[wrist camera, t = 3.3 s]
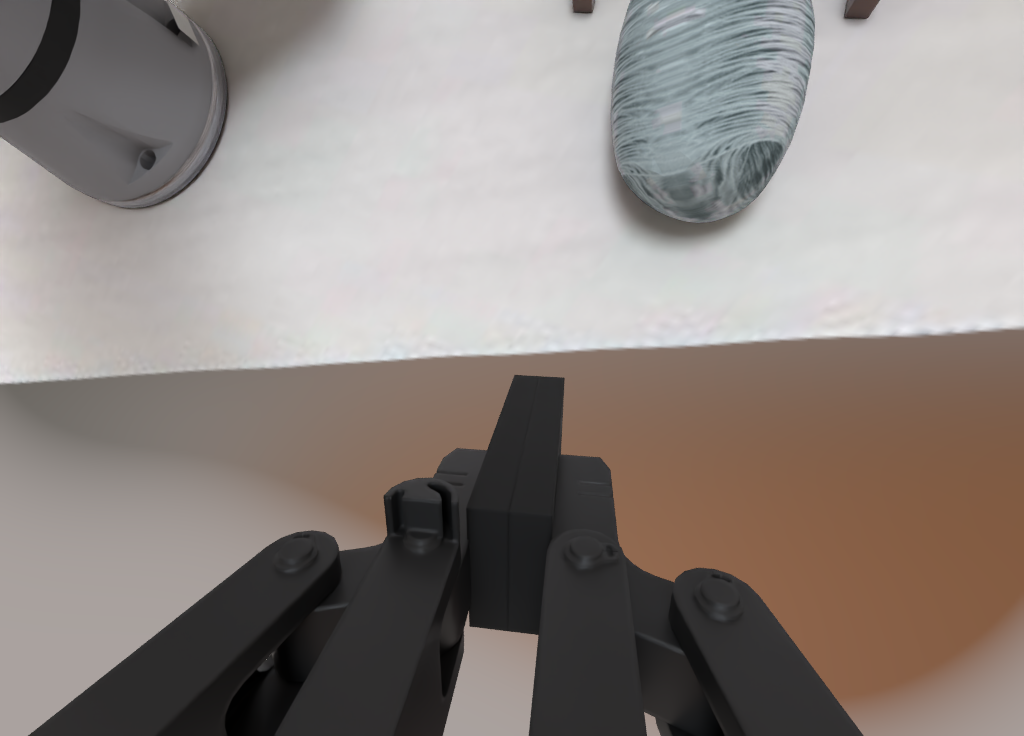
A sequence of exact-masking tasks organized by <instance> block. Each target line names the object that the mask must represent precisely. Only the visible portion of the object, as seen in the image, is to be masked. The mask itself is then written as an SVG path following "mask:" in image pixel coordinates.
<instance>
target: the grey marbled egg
mask: <svg viewBox="0 0 1024 736" xmlns="http://www.w3.org/2000/svg"><path fill="white" fill-rule="evenodd" d="M814 31H815V18H814V12H813V6H812V2H811V0H631V1H630V4H629V6H628V9H627V13H626V16H625V20H624V23H623V26H622V30H621V33H620V38H619V43H618V48H617V52H616V59H615V67H614V75H613V82H612V101H611V126H612V138H613V148H614V152H615V158H616V163H617V166H618V169H619V172H620V174H621V176H622V178H623V179H624V181H625V183H626V184H627V185H628V187H629V188H630V189H631V190H632V191H633V192H634V193H635V195H636V196H637V197H638V198H640V199H641V200H642V201H643V202H644V203H646V204H647V205H648V206H650V207H652V208H653V209H655V210H656V211H658V212H660V213H663V214H665V215H667V216H670V217H672V218H675V219H678V220H682V221H687V222H695V223H702V222H712V221H716V220H719V219H723V218H725V217H728V216H730V215H732V214H735V213H737V212H739V211H740V210H742V209H743V208H745V207H746V206H748V205H749V204H750V203H751V202H752V201H753V200H754V199H756V198H757V197H758V196H759V194H760V193H761V192H762V190H763V189H764V188H765V187H766V185H767V184H768V182H769V180H770V179H771V177H772V176H773V174H774V173H775V171H776V169H777V168H778V166H779V164H780V162H781V160H782V159H783V157H784V155H785V153H786V151H787V149H788V147H789V145H790V143H791V141H792V138H793V135H794V132H795V129H796V126H797V123H798V120H799V118H800V114H801V111H802V108H803V104H804V101H805V95H806V90H807V84H808V79H809V74H810V69H811V60H812V55H813V49H814Z"/></svg>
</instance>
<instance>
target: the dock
mask: <svg viewBox="0 0 1024 736" xmlns="http://www.w3.org/2000/svg"><path fill="white" fill-rule="evenodd" d="M572 1H573V10H574V12H592V11H593V7H594V1H595V0H572ZM879 1H880V0H848V1H847V7H846V12H845V17H847V18H868V17H869V15H870V14H871V12H872V11H873V10H874V8H875V7H876V5H877V4H878V2H879Z"/></svg>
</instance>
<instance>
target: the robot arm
mask: <svg viewBox="0 0 1024 736" xmlns="http://www.w3.org/2000/svg"><path fill="white" fill-rule="evenodd" d="M226 102H227V85H226V76H225V71H224V67H223V63H222V60H221V57H220V55H219V52H218V50H217V48H216V47H215V45H214V43H213V42H212V40H211V39H210V37H209V36H208V35H207V34H206V33H205V32H204V30H202V29H201V28H200V27H199V26H198V25H197V24H196V23H194V22H193V21H192V20H191V19H190V18H189V17H188V16H186V15H185V14H184V13H183V12H182V11H181V10H179V9H178V8H177V7H176V6H175V5H174V4H172V3H171V2H170V1H169V0H167V1H165V0H0V137H2V138H3V139H4V140H6V141H7V142H9V143H10V144H11V145H13V146H14V147H16V148H17V149H18V150H20V151H21V152H23V153H24V154H25V155H27V156H28V157H30V158H31V159H32V160H34V161H35V162H37V163H38V164H39V165H41V166H42V167H44V168H45V169H47V170H48V171H49V172H51V173H52V174H54V175H55V176H56V177H58V178H59V179H61V180H62V181H63V182H65V183H66V184H68V185H69V186H71V187H73V188H75V189H76V190H78V191H80V192H82V193H84V194H86V195H88V196H90V197H92V198H95V199H98V200H101V201H103V202H106V203H109V204H112V205H115V206H119V207H124V208H140V207H147V206H150V205H154V204H157V203H159V202H162V201H164V200H166V199H168V198H170V197H171V196H173V195H174V194H176V193H177V192H179V191H180V190H181V189H183V188H184V187H185V186H186V185H187V184H188V183H189V182H190V181H191V180H192V179H193V178H194V177H195V176H196V175H197V174H198V173H199V171H200V170H201V169H202V167H203V166H204V165H205V163H206V162H207V160H208V158H209V157H210V155H211V153H212V151H213V149H214V147H215V145H216V143H217V140H218V138H219V135H220V132H221V129H222V126H223V121H224V117H225V111H226ZM563 396H564V378H558V377H541V376H522V375H515V376H514V378H513V381H512V384H511V387H510V389H509V392H508V395H507V397H506V400H505V403H504V406H503V408H502V412H501V414H500V417H499V419H498V422H497V425H496V428H495V430H494V433H493V436H492V439H491V442H490V444H489V447H488V450H486V451H485V450H474V449H460V448H457V449H455V450H454V451H452V452H451V453H450V454H448V455H447V456H446V457H444V458H443V460H442V462H441V464H440V465H439V467H438V469H437V473H436V474H435V475H434V477H433V478H416V479H413V480H408V481H404V482H402V483H400V484H398V485H396V486H394V487H392V488H391V489H390V490H389V491H388V492H387V493H386V494H385V495H384V505H385V514H386V525H387V537H386V538H385V540H384V542H383V543H382V544H379V545H376V546H371V547H366V548H359V549H353V550H345V551H339V547H338V544H337V542H336V540H335V538H334V537H332V536H330V535H329V534H327V533H325V532H319V531H304V532H297V533H294V534H291V535H288V536H285V537H283V538H280V539H279V540H277V541H275V542H274V543H272V544H270V545H269V546H267V547H266V548H265V549H263V550H262V551H261V552H260V553H258V554H257V555H256V556H255V557H253V558H252V559H251V560H250V561H248V562H247V563H246V564H245V565H243V566H242V567H241V568H239V569H238V570H237V571H236V572H234V573H233V574H232V575H231V576H230V577H228V578H227V579H226V580H224V581H223V582H222V583H220V584H219V585H218V586H217V587H215V588H214V589H213V590H212V591H211V592H209V593H208V594H207V595H205V596H204V597H203V598H202V599H200V600H199V601H198V602H196V603H195V604H194V605H193V606H191V607H190V608H189V609H188V610H186V611H185V612H184V613H183V614H181V615H180V616H179V617H178V618H176V619H175V620H174V621H172V622H171V623H170V624H169V625H167V626H166V627H165V628H164V629H162V630H161V631H160V632H159V633H158V634H156V635H155V636H154V637H152V638H151V639H150V640H148V641H147V642H146V643H145V644H144V645H142V646H141V647H140V648H138V649H137V650H136V651H135V652H133V653H132V654H131V655H130V656H129V657H127V658H126V659H124V660H123V661H122V662H121V663H119V664H118V665H117V666H116V667H114V668H113V669H112V670H111V671H109V672H108V673H107V674H106V675H104V676H103V677H102V678H100V679H99V680H98V681H97V682H95V683H94V684H93V685H92V686H90V687H89V688H88V689H87V690H85V691H84V692H83V693H82V694H81V695H79V696H78V697H76V698H75V699H74V700H73V701H71V702H70V703H69V704H68V705H66V706H65V707H64V708H63V709H61V710H60V711H59V712H58V713H56V714H55V715H54V716H52V717H51V718H50V719H49V720H47V721H46V722H45V723H44V724H42V725H41V726H40V727H39V728H37V729H36V730H35V731H34V732H32V733H31V734H30V735H28V736H443V732H444V728H445V724H446V720H447V716H448V712H449V708H450V704H451V701H452V697H453V693H454V689H455V685H456V681H457V677H458V673H459V669H460V664H461V661H462V657H463V653H464V626H465V622H466V618H467V614H468V611H469V622H470V627H479V628H487V629H495V630H503V631H511V632H520V633H528V634H536V635H539V637H538V647H537V657H536V668H535V678H534V689H533V698H532V709H531V719H530V730H529V736H647V734H646V724H645V716H644V712H645V713H648V714H650V715H652V716H654V717H655V718H656V724H657V726H658V729H659V732H660V735H661V736H863V734H862V733H861V732H860V730H859V729H858V728H857V726H856V725H855V724H854V722H853V721H852V720H851V718H850V717H849V716H848V714H847V713H846V712H845V711H844V709H843V708H842V706H841V705H840V704H839V702H838V701H837V699H836V698H835V697H834V695H833V694H832V693H831V692H830V690H829V689H828V687H827V686H826V685H825V683H824V682H823V681H822V679H821V678H820V677H819V675H818V674H817V673H816V671H815V670H814V669H813V667H812V666H811V665H810V663H809V662H808V661H807V659H806V658H805V657H804V655H803V654H802V653H801V651H800V650H799V649H798V647H797V646H796V645H795V643H794V642H793V641H792V639H791V638H790V637H789V635H788V634H787V633H786V632H785V630H784V629H783V627H782V626H781V624H780V623H779V622H778V620H777V619H776V618H775V616H774V615H773V614H772V612H771V611H770V610H769V608H768V607H767V606H766V604H765V603H764V602H763V600H762V599H761V598H760V597H759V595H758V594H757V593H755V591H754V590H753V589H752V588H751V587H750V586H748V585H747V584H746V583H744V582H743V581H741V580H739V579H738V578H736V577H734V576H732V575H731V574H728V573H725V572H721V571H719V570H715V569H706V568H696V569H691V570H688V571H684V572H683V573H682V574H681V575H679V576H678V577H677V578H676V579H675V583H674V582H671V581H669V580H666V579H662V578H660V577H657V576H654V575H652V574H650V573H648V572H645V571H643V570H642V569H640V568H638V567H637V566H636V565H634V564H633V563H632V562H631V561H630V560H629V559H628V558H626V557H625V555H624V553H623V551H622V548H621V547H620V546H619V542H618V536H617V526H616V517H615V508H614V499H613V490H612V481H611V472H610V469H609V468H608V467H607V465H606V464H605V463H604V462H603V460H602V459H601V458H600V457H586V456H572V455H561V437H562V418H563ZM266 659H267V660H266Z"/></svg>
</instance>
